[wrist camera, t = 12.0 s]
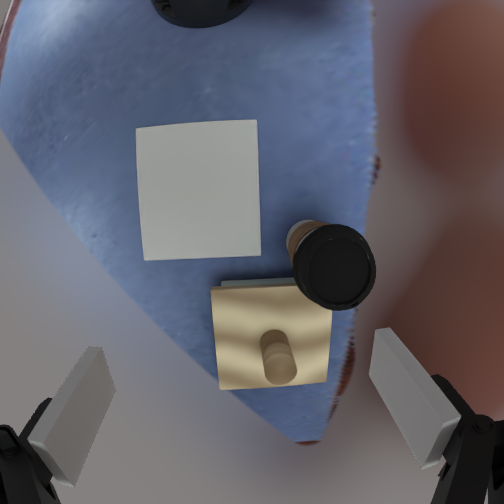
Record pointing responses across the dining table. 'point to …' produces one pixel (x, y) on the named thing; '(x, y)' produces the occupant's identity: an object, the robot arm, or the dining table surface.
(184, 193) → the mat
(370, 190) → the dining table surface
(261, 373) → the lid
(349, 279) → the coffee cup
